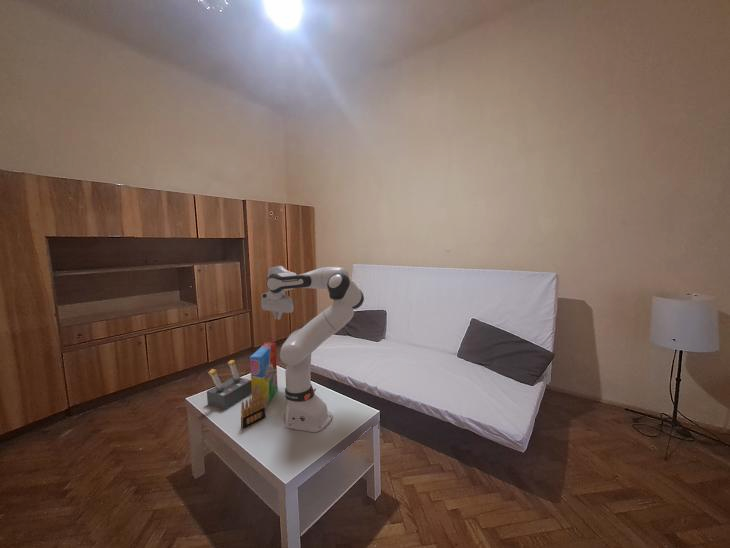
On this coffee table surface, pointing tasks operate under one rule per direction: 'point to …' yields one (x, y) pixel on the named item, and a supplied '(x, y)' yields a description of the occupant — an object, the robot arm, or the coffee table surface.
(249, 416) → the ammunition clip
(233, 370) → the lever
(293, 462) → the coffee table surface
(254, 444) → the coffee table surface
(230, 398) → the switch box
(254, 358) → the game box
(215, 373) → the lever
